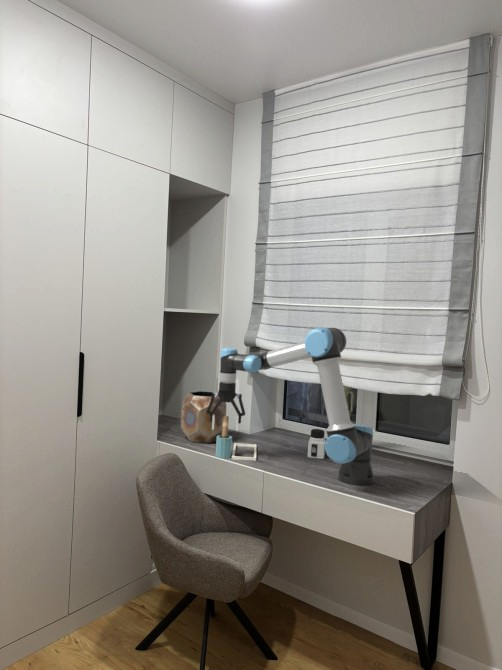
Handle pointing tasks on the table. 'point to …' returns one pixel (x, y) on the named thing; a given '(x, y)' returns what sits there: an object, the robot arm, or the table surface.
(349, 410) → the thermos
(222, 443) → the cup
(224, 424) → the brown wooden bar
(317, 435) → the container
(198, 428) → the planter
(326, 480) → the table surface
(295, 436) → the table surface
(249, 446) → the white rectangular frame
